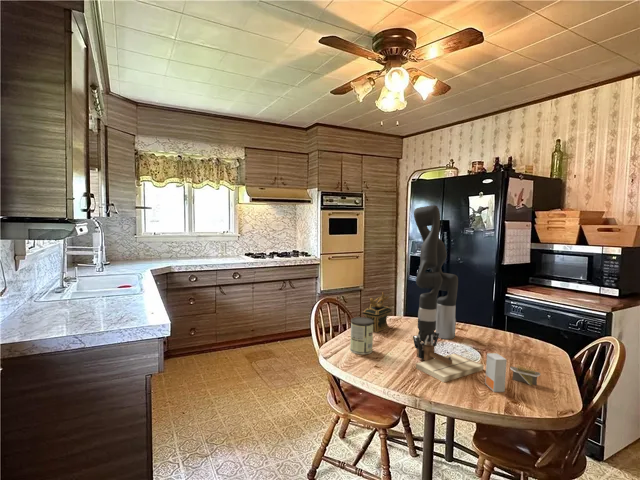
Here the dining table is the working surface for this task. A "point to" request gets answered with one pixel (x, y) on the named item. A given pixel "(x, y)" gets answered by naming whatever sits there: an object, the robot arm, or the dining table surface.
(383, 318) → the decorative box
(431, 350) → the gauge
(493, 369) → the skincare box
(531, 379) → the grey storage bin
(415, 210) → the robot arm
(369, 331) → the coffee can
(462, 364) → the board
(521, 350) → the dining table surface
